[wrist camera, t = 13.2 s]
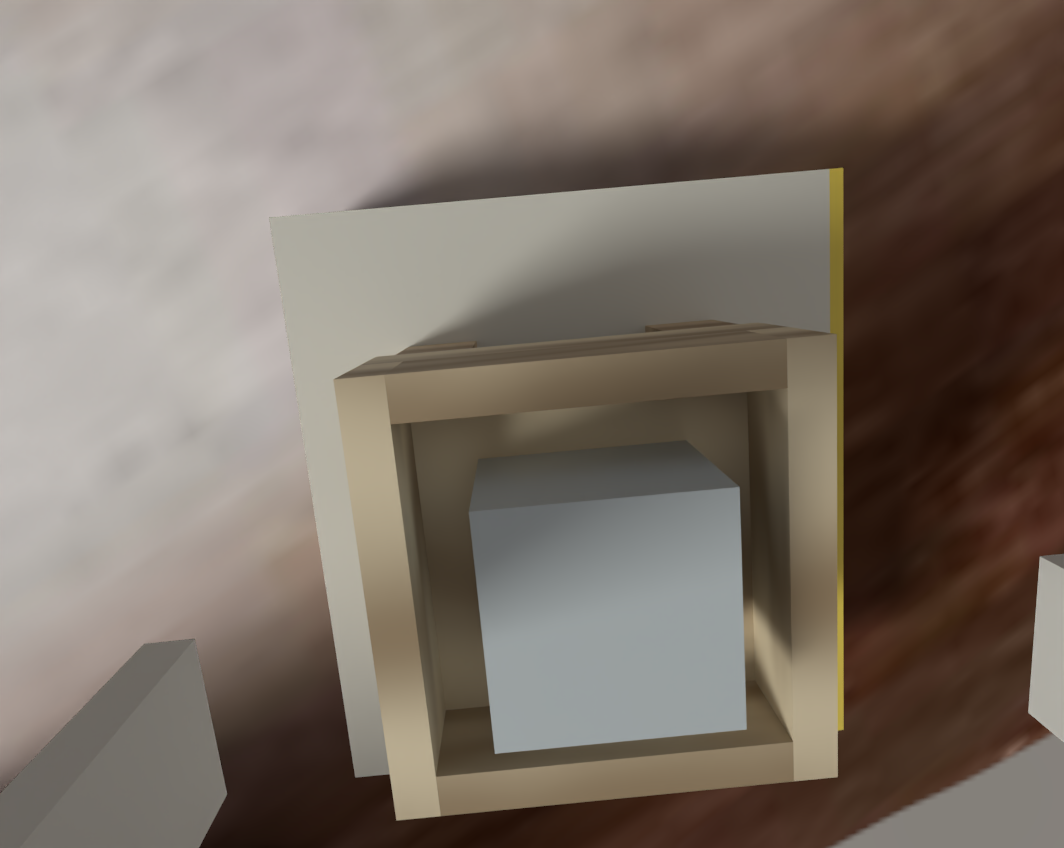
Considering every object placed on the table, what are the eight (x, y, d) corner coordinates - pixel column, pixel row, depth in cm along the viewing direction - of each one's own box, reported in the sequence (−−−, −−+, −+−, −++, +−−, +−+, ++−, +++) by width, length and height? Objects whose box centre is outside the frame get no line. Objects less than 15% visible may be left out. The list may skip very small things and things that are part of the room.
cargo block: (478, 458, 17) (469, 511, 13) (686, 440, 17) (739, 487, 13) (497, 650, 18) (494, 754, 14) (694, 632, 18) (746, 729, 14)
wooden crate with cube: (391, 348, 21) (333, 379, 14) (728, 318, 21) (836, 334, 14) (430, 658, 23) (396, 820, 16) (738, 629, 23) (837, 776, 16)
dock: (316, 230, 25) (268, 217, 20) (778, 190, 25) (843, 167, 20) (382, 692, 28) (355, 777, 23) (786, 653, 29) (843, 729, 24)
